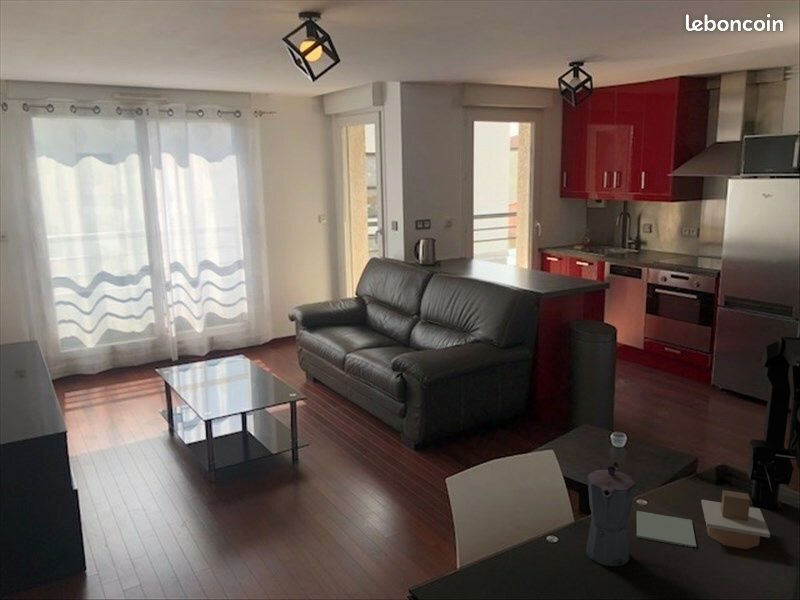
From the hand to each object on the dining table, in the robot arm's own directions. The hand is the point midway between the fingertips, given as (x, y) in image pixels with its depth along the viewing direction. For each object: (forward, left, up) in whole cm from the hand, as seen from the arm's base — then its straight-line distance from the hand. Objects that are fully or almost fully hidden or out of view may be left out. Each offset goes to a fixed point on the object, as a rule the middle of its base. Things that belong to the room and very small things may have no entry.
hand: (798, 496), depth 128 cm
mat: (-5, -24, -15) cm, 29 cm away
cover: (-7, -10, -11) cm, 16 cm away
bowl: (-7, -10, -15) cm, 19 cm away
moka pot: (+11, -36, -15) cm, 40 cm away
